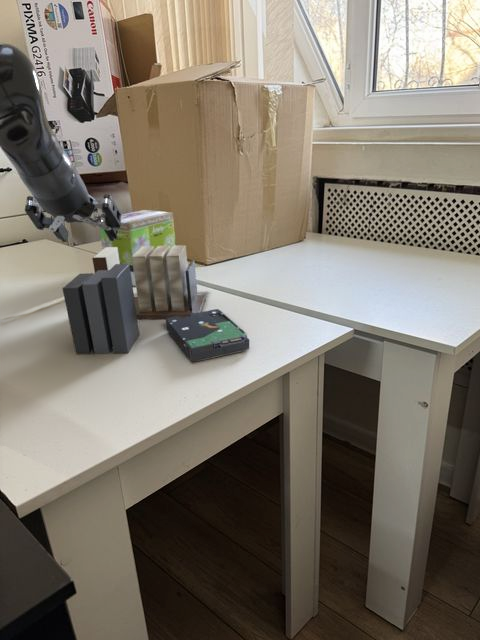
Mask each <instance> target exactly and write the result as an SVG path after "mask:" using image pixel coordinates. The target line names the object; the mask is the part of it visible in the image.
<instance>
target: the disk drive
mask: <svg viewBox="0 0 480 640" xmlns="http://www.w3.org/2000/svg"><path fill="white" fill-rule="evenodd" d="M165 325H166V331H167V332H168V334H169V335H170V336H171V337H172V339H173V340H174V342H175V343H176V344H177V345H178V346H179V348H180V350H181V351H182V352H183V353H184V354H185V356H186V357H187V358H188V359H189V361H190V362H198V361H203V360H208V359H213V358H217V357H221V356H227V355H231V354H235V353H240V352H245V351H246V350H249V349H250V338H248V335H247V333H246V332H245V331H244V330H243V329H241V327H240V326H238V325H237V323H235V322H234V321H233V320H231V319H230V318H229V317H228V316H227V315H226V314H225V313H224V312H223V311H222V310H220V309H219V308H216V309H209V310H205V311H201V312H198V313H192V314H188V315H187V316H186V317H184V318H180V317H178V316H176V317H171V318H166V319H165Z"/></svg>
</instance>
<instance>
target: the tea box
mask: <svg viewBox="0 0 480 640" xmlns="http://www.w3.org/2000/svg"><path fill="white" fill-rule="evenodd" d="M121 214H122V217H121V227H120V228H117V229H118V233H117V238H115V241H110V240H109V238H108V236H107V234H106V233H105V231H104V229H103V228H101V227H99V233H100V240H101V249H102V250H103V249H104V248H105V247H117V248H118V255H119V261H120V264H129V265H130V272H131V279H132V286H133V287H136V282H135V275H134V268H133V260H132V256H133V255H134V254H135V253H136V252H137V251H138V250H139V249H140V248H141V247H142V246H154V250H155V249H156V248H157V247H158V246H170V250H171V249H172V247H173V246H176V234H175V222H174V213H173V212H171V211H170V212H169V211H159V210H151V209H150V210H149V209H142V210H136V211H132V212H131V211H130V212H127V213H121ZM101 220H102V221H103V222H105V219H104V218H102V217H101Z"/></svg>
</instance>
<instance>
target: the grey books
mask: <svg viewBox="0 0 480 640" xmlns="http://www.w3.org/2000/svg"><path fill="white" fill-rule="evenodd" d="M62 292H63V298H64V304H65V307H66V312H67V318H68V322H69V327H70V333H71V337H72V342H73V346H74V347H73V348H74V352H75V354H76V355H90V354H91V353H92V352H93V351H94V354H95V355H97V354H98V355H100V354H101V355H105V354H110V353H111V352H112V350H113V354H129V352H130V351H131V349H132V348H133V346H134V344H135V342H136V341H137V339H138V337H139V335H140V329H139V322H138V320H137V314H136V307H135V300H134V296H135V295H134V293H135V292H134V286H132V279H131V272H130V265H129V264H115V265H114V266H113V267H112V268H111V269H110V270H98V271H97V272H96V273H95V272H93V273H92V272H91V273H79V274H77V275H76V276H75V277H74V278H73V279H72V280H70V281H69V282H68V283H67V284H65V285H64V286H63V287H62Z"/></svg>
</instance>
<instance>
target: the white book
mask: <svg viewBox="0 0 480 640" xmlns="http://www.w3.org/2000/svg"><path fill="white" fill-rule="evenodd" d="M91 259H92V264H93V271H94V273H96V272H97V271H98V270H110V269H111V268H112V267H113V266H114V265H115V264H120V261H119V255H118V248H117V247H105V248H104V249H102V250H101V251H99V252H98V253H97V254H96V255H94V256H93V257H91Z"/></svg>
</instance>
